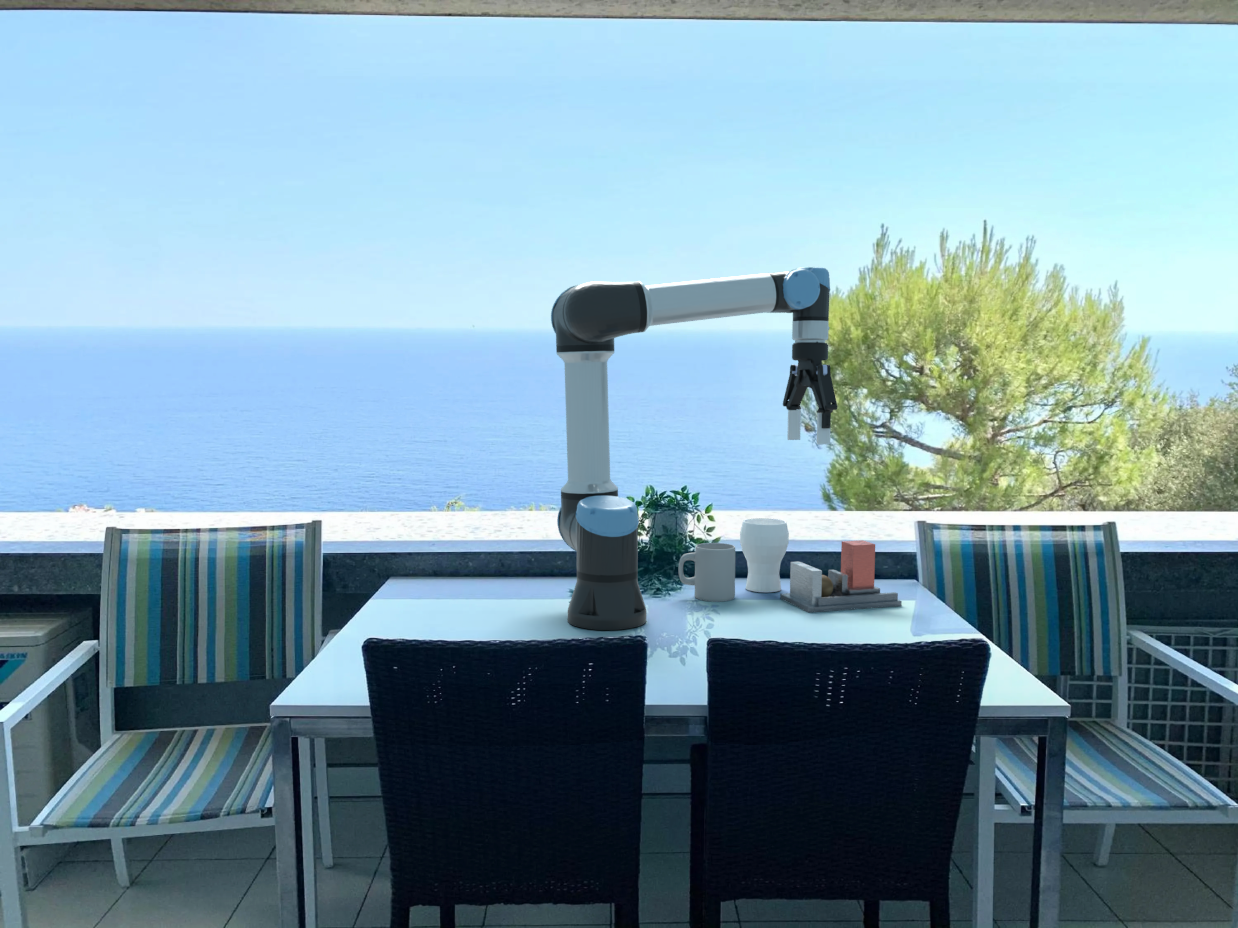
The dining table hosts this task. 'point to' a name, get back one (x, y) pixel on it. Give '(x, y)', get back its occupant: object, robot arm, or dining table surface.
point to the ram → (855, 570)
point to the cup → (764, 552)
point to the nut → (826, 586)
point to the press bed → (809, 595)
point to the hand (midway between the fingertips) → (808, 442)
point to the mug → (711, 571)
